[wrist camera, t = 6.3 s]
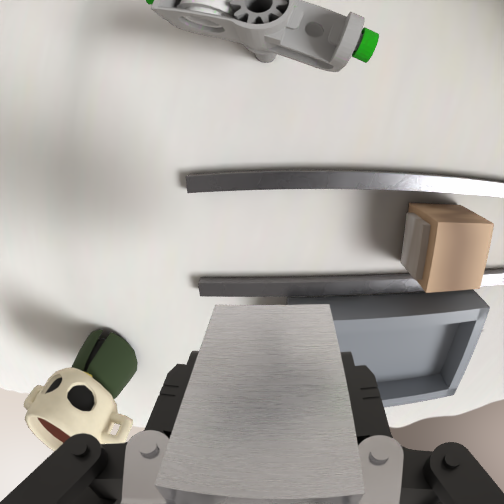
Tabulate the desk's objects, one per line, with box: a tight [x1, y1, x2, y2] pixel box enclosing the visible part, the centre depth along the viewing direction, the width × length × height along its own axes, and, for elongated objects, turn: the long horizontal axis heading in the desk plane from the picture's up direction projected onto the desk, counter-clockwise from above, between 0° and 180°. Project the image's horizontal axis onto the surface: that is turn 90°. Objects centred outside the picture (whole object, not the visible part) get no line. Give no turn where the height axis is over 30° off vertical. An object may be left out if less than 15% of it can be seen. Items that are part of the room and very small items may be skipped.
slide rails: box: [186, 170, 504, 297], centre depth 22 cm, size 30×10×1 cm, turn 92°
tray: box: [287, 289, 490, 407], centre depth 25 cm, size 18×11×4 cm, turn 92°
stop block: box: [155, 304, 365, 504], centre depth 8 cm, size 4×4×7 cm
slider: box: [401, 203, 494, 293], centre depth 20 cm, size 6×5×5 cm
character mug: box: [24, 330, 137, 451], centre depth 24 cm, size 11×7×13 cm, turn 84°
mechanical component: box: [146, 0, 379, 72], centre depth 14 cm, size 3×10×10 cm, turn 71°
